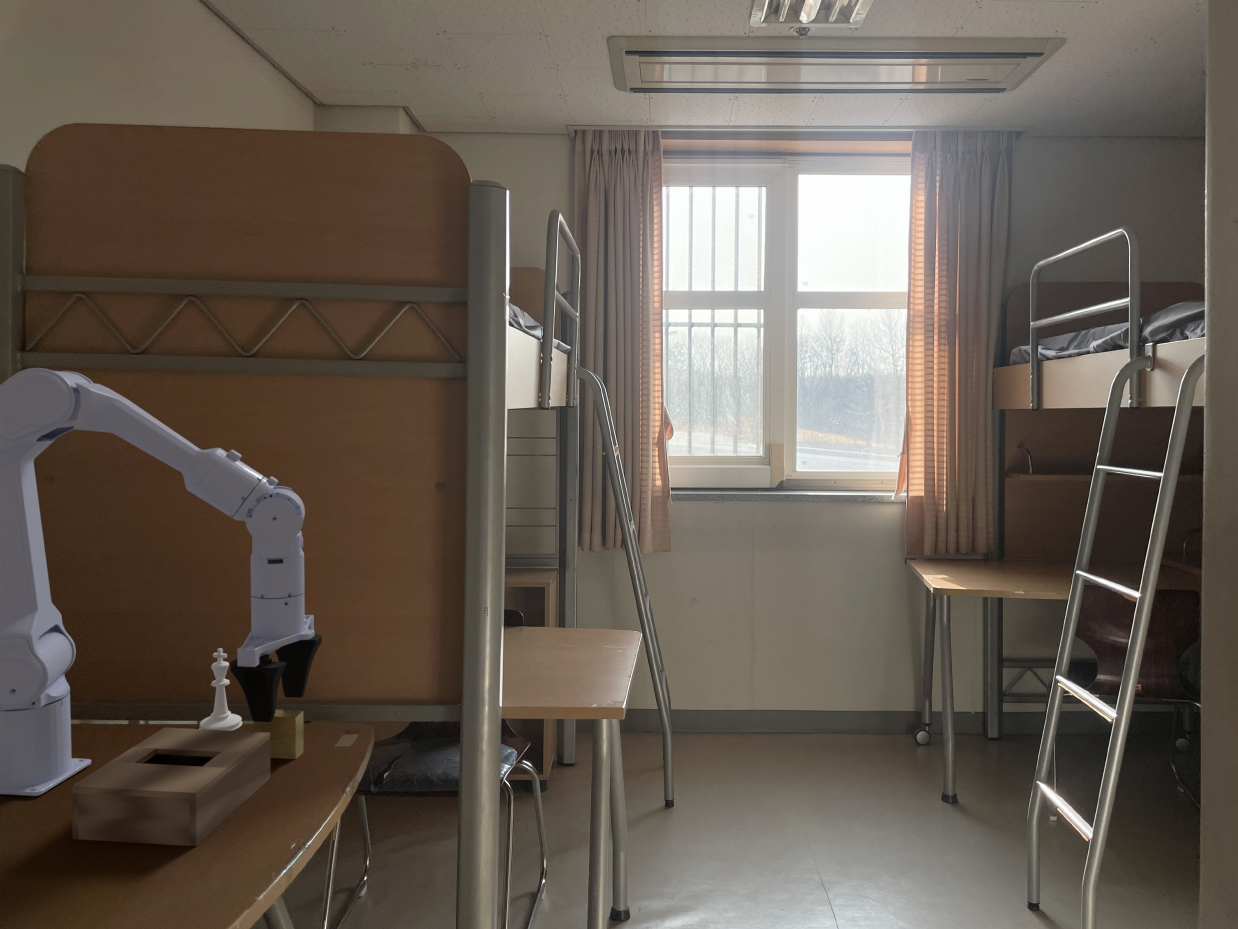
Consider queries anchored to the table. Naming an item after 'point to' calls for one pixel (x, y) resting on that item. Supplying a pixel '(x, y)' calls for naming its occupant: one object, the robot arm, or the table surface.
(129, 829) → the beige block with hole
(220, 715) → the chess piece
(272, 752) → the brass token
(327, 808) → the table surface
